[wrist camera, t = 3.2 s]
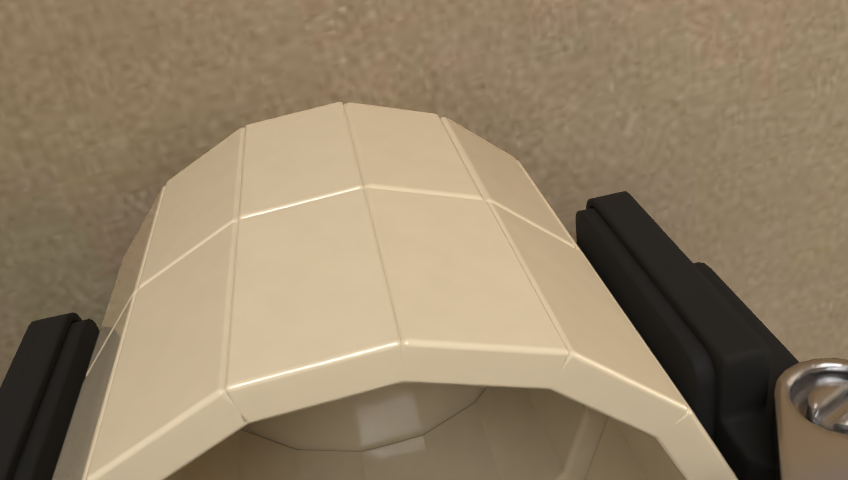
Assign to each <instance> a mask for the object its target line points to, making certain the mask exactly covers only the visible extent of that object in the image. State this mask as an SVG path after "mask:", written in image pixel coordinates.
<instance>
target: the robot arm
mask: <svg viewBox="0 0 848 480" xmlns="http://www.w3.org/2000/svg"><path fill="white" fill-rule="evenodd" d="M576 233H577V245H578V246H579V248H580V249H581V251H582V252H583V254H584V255H585V256H586V258H587V259H588V261H589V262H590V264H591V265H592V266H593V268H594V269H595V271H596V272H597V274H598V275H599V277H600V278H601V279H602V281H603V282H604V284H605V285H606V287H607V288H608V289H609V291H610V292H611V294H612V295H613V297H614V298H615V300H616V301H617V302H618V304H619V305H620V307H621V308H622V310H623V311H624V312H625V314H626V315H627V317H628V318H629V320H630V321H631V323H632V324H633V325H634V327H635V328H636V330H637V331H638V333H639V334H640V336H641V337H642V338H643V340H644V341H645V343H646V344H647V346H648V347H649V348H650V350H651V351H652V353H653V354H654V356H655V357H656V359H657V360H658V361H659V363H660V364H661V366H662V367H663V369H664V370H665V372H666V373H667V374H668V376H669V377H670V379H671V380H672V382H673V383H674V384H675V386H676V387H677V389H678V390H679V392H680V393H681V395H682V396H683V397H684V399H685V400H686V402H687V403H688V405H689V406H690V408H691V409H692V410H693V412H694V413H695V415H696V416H697V418H698V419H699V421H700V422H701V424H702V425H703V427H704V428H705V430H706V431H707V433H708V434H709V436H710V437H711V439H712V440H713V442H714V443H715V445H716V446H717V448H718V449H719V451H720V452H721V454H722V455H723V457H724V458H725V460H726V461H727V463H728V464H729V466H730V467H731V469H732V470H733V472H734V473H735V475H736V476H737V478H738V479H739V480H848V360H845V359H839V358H820V359H812V360H808V361H804V362H799V361H798V360H797V359H796V358H795V357H794V356H793V355H792V354H791V353H790V352H789V351H788V350H787V349H786V348H785V347H784V345H783V344H782V343H781V342H780V341H779V340H778V339H777V338H776V337H775V336H774V335H773V334H772V333H771V332H770V331H769V330H768V328H767V327H766V326H765V325H764V324H763V323H762V322H761V321H760V320H759V319H758V318H757V317H756V316H755V315H754V314H753V313H752V311H751V310H750V309H749V308H748V307H747V306H746V305H745V304H744V303H743V302H742V301H741V300H740V299H739V298H738V297H737V296H736V294H735V293H734V292H733V291H732V290H731V289H730V288H729V287H728V286H727V285H726V284H725V283H724V282H723V281H722V280H721V279H720V277H719V276H718V275H717V274H716V273H715V272H714V271H713V270H712V269H711V268H710V267H709V266H707V265H706V264H705V263H700V262H697V263H692V262H691V261H690V260H689V259H688V257H687V256H686V255H685V254H684V253H683V252H682V251H681V250H680V249H679V248H678V246H677V245H676V244H675V243H674V242H673V241H672V240H671V239H670V238H669V237H668V236H667V234H666V233H665V232H664V231H663V230H662V229H661V228H660V227H659V226H658V225H657V223H656V222H655V221H654V220H653V219H652V218H651V217H650V216H649V215H648V214H647V213H646V211H645V210H644V209H643V208H642V207H641V206H640V205H639V204H638V203H637V202H636V200H635V199H634V198H633V197H632V196H631V195H630V194H629V193H628V192H626V191H625V192H619V193H615V194H610V195H605V196H601V197H596V198H592V199H589V200H588V201H587V205H586V210H582V211H578V212H577V213H576ZM98 335H99V329H98V327H97V326H96V324H95V322H94V321H93V320H91V319H87V320H83V321H82V320H81V318H80V317H79V316H78V315H77V314H76V313H68V314H64V315H59V316H55V317H50V318H46V319H41V320H37V321H33V322H31V324H30V325H29V326H28V329H27V331H26V333H25V335H24V337H23V339H22V342H21V344H20V346H19V348H18V350H17V352H16V355H15V357H14V359H13V361H12V363H11V366H10V368H9V370H8V372H7V374H6V376H5V379H4V381H3V383H2V385H1V387H0V480H52V478H53V475H54V472H55V469H56V465H57V462H58V459H59V456H60V453H61V450H62V447H63V444H64V441H65V437H66V434H67V431H68V428H69V425H70V422H71V419H72V416H73V413H74V409H75V406H76V403H77V400H78V397H79V394H80V391H81V388H82V385H83V382H84V380H85V378H86V373H87V370H88V367H89V363H90V360H91V357H92V354H93V351H94V348H95V345H96V342H97V338H98Z"/></svg>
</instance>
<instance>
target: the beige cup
mask: <svg viewBox="0 0 848 480" xmlns="http://www.w3.org/2000/svg"><path fill="white" fill-rule="evenodd" d="M52 480H739V479H738V478H737V476H736V475H735V473H734V472H733V470H732V469H731V467H730V466H729V464H728V463H727V461H726V460H725V458H724V457H723V455H722V454H721V452H720V451H719V449H718V448H717V446H716V445H715V443H714V442H713V440H712V439H711V437H710V436H709V434H708V433H707V431H706V430H705V428H704V427H703V425H702V424H701V422H700V421H699V419H698V418H697V416H696V415H695V413H694V412H693V410H692V409H691V408H690V406H689V405H688V403H687V402H686V400H685V399H684V397H683V396H682V395H681V393H680V392H679V390H678V389H677V387H676V386H675V384H674V383H673V382H672V380H671V379H670V377H669V376H668V374H667V373H666V372H665V370H664V369H663V367H662V366H661V364H660V363H659V361H658V360H657V359H656V357H655V356H654V354H653V353H652V351H651V350H650V348H649V347H648V346H647V344H646V343H645V341H644V340H643V338H642V337H641V336H640V334H639V333H638V331H637V330H636V328H635V327H634V325H633V324H632V323H631V321H630V320H629V318H628V317H627V315H626V314H625V312H624V311H623V310H622V308H621V307H620V305H619V304H618V302H617V301H616V300H615V298H614V297H613V295H612V294H611V292H610V291H609V289H608V288H607V287H606V285H605V284H604V282H603V281H602V279H601V278H600V277H599V275H598V274H597V272H596V271H595V269H594V268H593V266H592V265H591V264H590V262H589V261H588V259H587V258H586V256H585V255H584V254H583V252H582V251H581V249H580V248H579V246H578V245H577V243H576V242H575V241H574V239H573V238H572V236H571V235H570V233H569V232H568V230H567V229H566V228H565V226H564V225H563V223H562V222H561V220H560V219H559V217H558V216H557V215H556V213H555V212H554V210H553V209H552V207H551V206H550V205H549V203H548V202H547V200H546V199H545V197H544V196H543V194H542V193H541V192H540V190H539V189H538V187H537V186H536V184H535V183H534V181H533V180H532V179H531V177H530V176H529V174H528V173H527V171H526V170H525V169H524V167H523V166H522V164H521V163H520V162H519V161H516V160H515V158H514V157H513V156H511V155H509V154H507V153H506V152H504V151H502V150H501V149H499V148H497V147H496V146H494V145H492V144H491V143H489V142H487V141H485V140H484V139H482V138H480V137H479V136H477V135H475V134H474V133H472V132H470V131H469V130H467V129H465V128H463V127H462V126H460V125H458V124H457V123H455V122H453V121H452V120H450V119H448V118H445V117H441V118H440V116H438V115H437V114H433V113H425V112H418V111H410V110H403V109H395V108H387V107H380V106H372V105H365V104H357V103H345V105H344V104H343V103H342V102H337V103H333V104H329V105H325V106H321V107H317V108H313V109H309V110H305V111H301V112H297V113H293V114H289V115H285V116H281V117H277V118H273V119H269V120H265V121H261V122H257V123H253V124H249V125H247V126H245V128H244V127H243V128H240V129H238V130H237V131H236V132H234V133H233V134H232V135H230V136H229V137H227V138H226V139H225V140H223V141H222V142H221V143H219V144H218V145H217V146H215V147H214V148H212V149H211V150H210V151H208V152H207V153H206V154H204V155H203V156H202V157H200V158H199V159H197V160H196V161H195V162H193V163H192V164H191V165H189V166H188V167H187V168H185V169H184V170H182V171H181V172H180V173H178V174H177V175H176V176H174V177H173V178H172V179H170V180H169V181H167V183H166V186H164V187H163V188H162V189H161V191H160V193H159V194H158V196H157V198H156V200H155V202H154V203H153V205H152V207H151V209H150V211H149V212H148V214H147V216H146V218H145V220H144V222H143V223H142V225H141V227H140V229H139V231H138V232H137V234H136V236H135V238H134V240H133V241H132V243H131V245H130V247H129V249H128V250H127V252H126V254H125V256H124V258H123V261H122V264H121V267H120V270H119V273H118V276H117V279H116V282H115V285H114V289H113V292H112V295H111V298H110V301H109V304H108V307H107V310H106V314H105V317H104V320H103V323H102V326H101V329H100V332H99V335H98V338H97V342H96V345H95V348H94V351H93V354H92V357H91V360H90V363H89V367H88V370H87V373H86V378H85V380H84V382H83V385H82V388H81V391H80V394H79V397H78V400H77V403H76V406H75V409H74V413H73V416H72V419H71V422H70V425H69V428H68V431H67V434H66V437H65V441H64V444H63V447H62V450H61V453H60V456H59V459H58V462H57V465H56V469H55V472H54V475H53V478H52Z"/></svg>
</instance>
